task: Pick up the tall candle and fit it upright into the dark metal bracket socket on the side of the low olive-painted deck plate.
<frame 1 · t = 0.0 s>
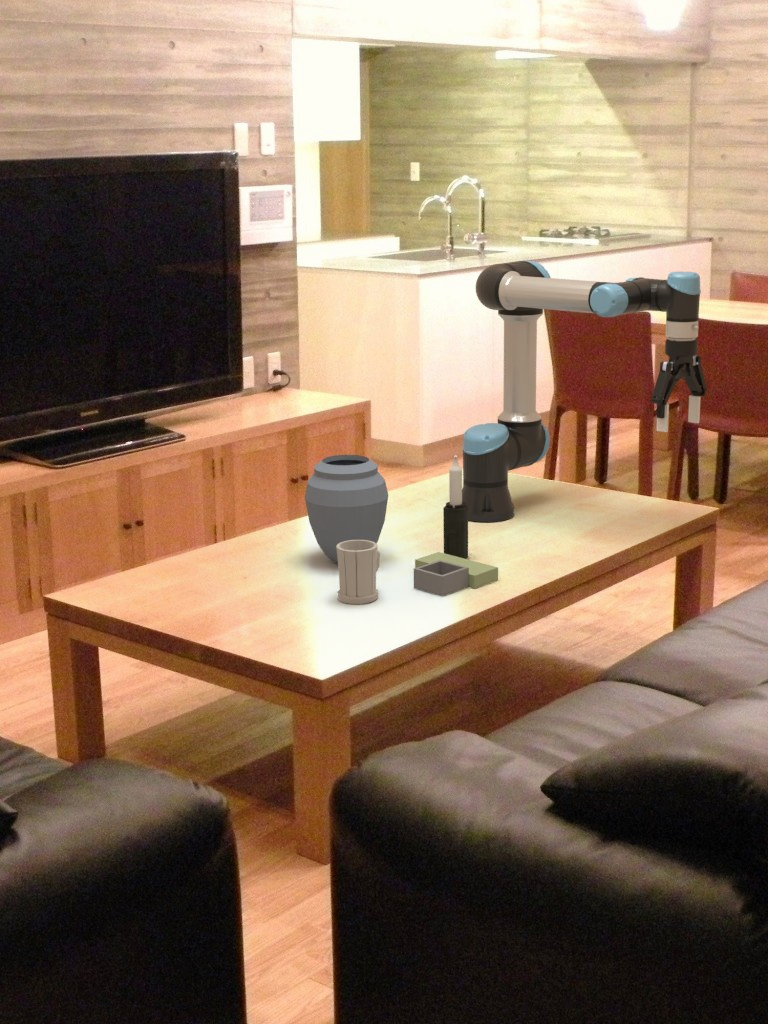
hand: (678, 427, 331), 28 cm above the table, fingers open, 13 cm apart
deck: (447, 579, 311), on the table
cup: (358, 597, 300), on the table
vase: (348, 561, 326), on the table
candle: (455, 559, 326), on the table
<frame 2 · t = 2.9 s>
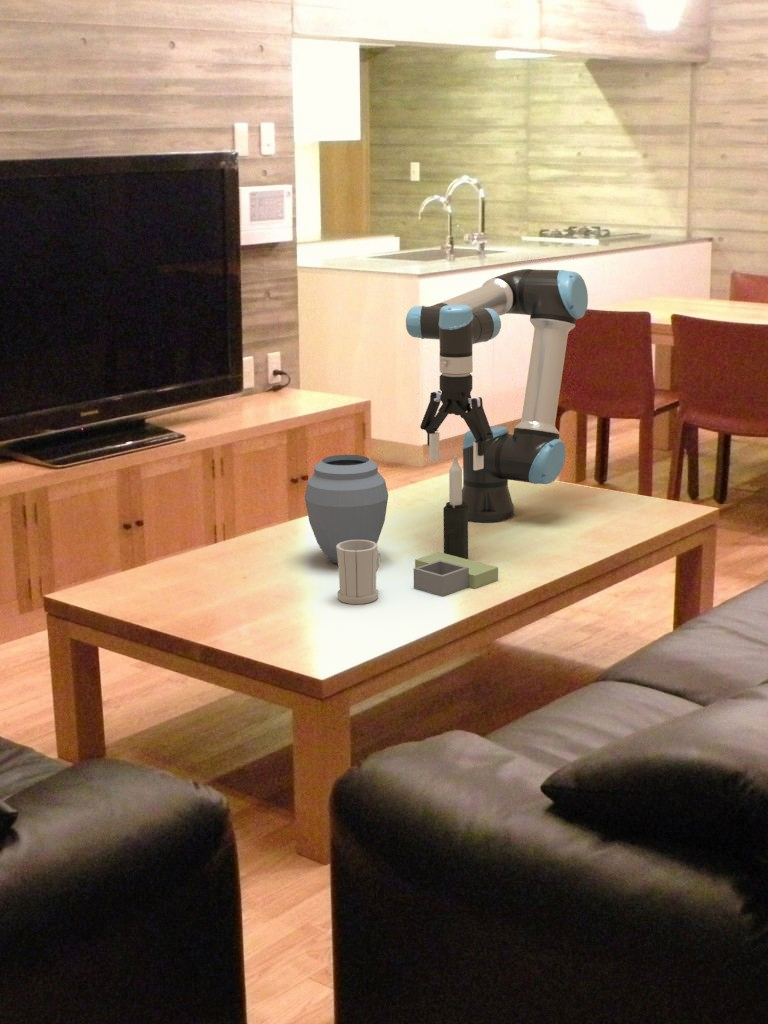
hand: (456, 464, 320), 23 cm above the table, fingers open, 13 cm apart
nothing on the table moved.
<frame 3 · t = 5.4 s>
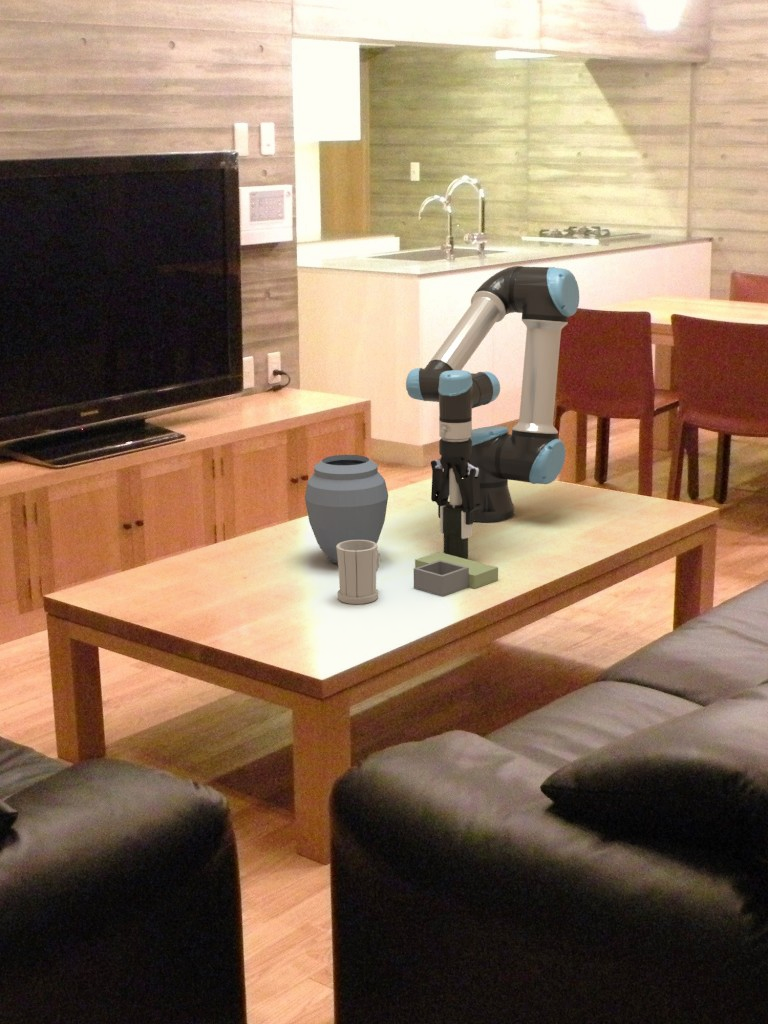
hand: (455, 534, 324), 6 cm above the table, fingers closed on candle, 6 cm apart
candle: (455, 559, 326), on the table, touching gripper
everything else where it was.
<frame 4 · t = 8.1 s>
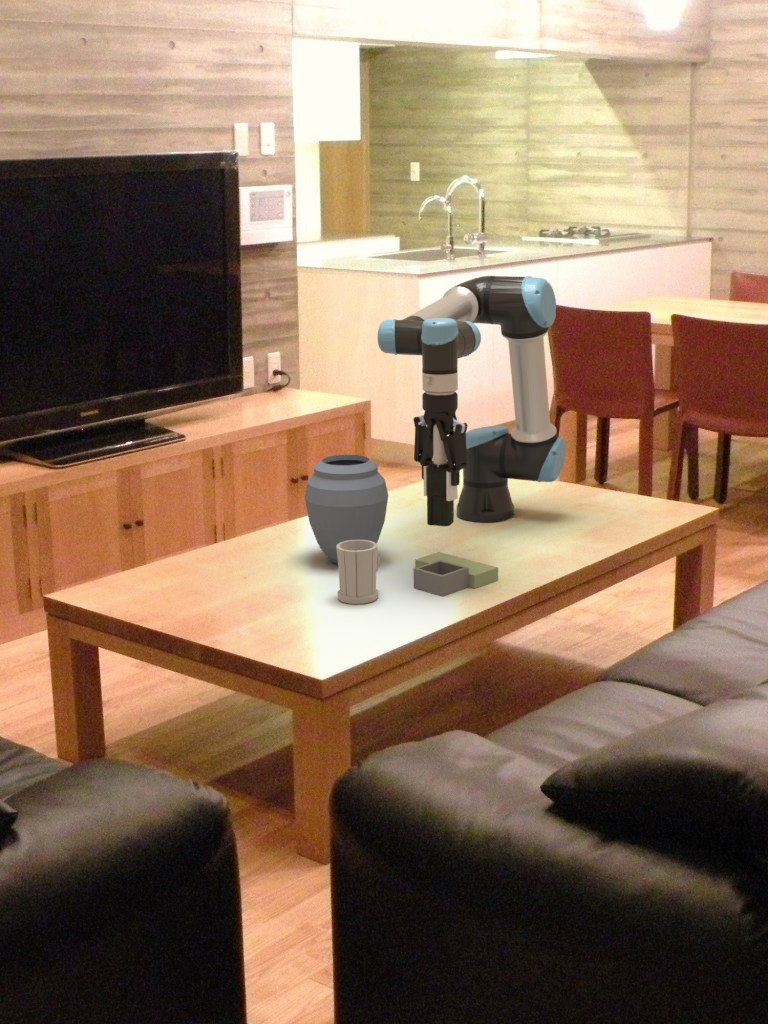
hand: (440, 497, 300), 21 cm above the table, fingers closed on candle, 6 cm apart
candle: (440, 523, 301), point 15 cm above the table, touching gripper
everything else where it was.
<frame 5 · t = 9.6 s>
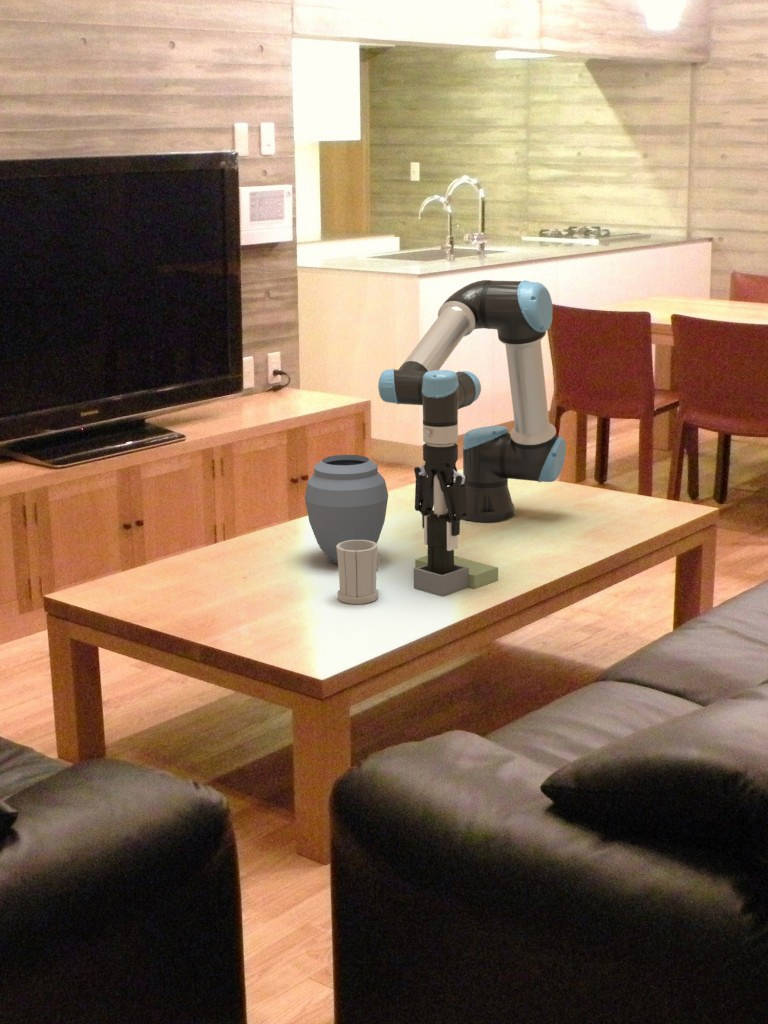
hand: (440, 546, 303), 10 cm above the table, fingers closed on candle, 6 cm apart
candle: (440, 572, 304), point 4 cm above the table, touching gripper
everything else where it was.
when the fingers open (7 cm above the table, at t = 10.7 s): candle drops 1 cm, resting in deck.
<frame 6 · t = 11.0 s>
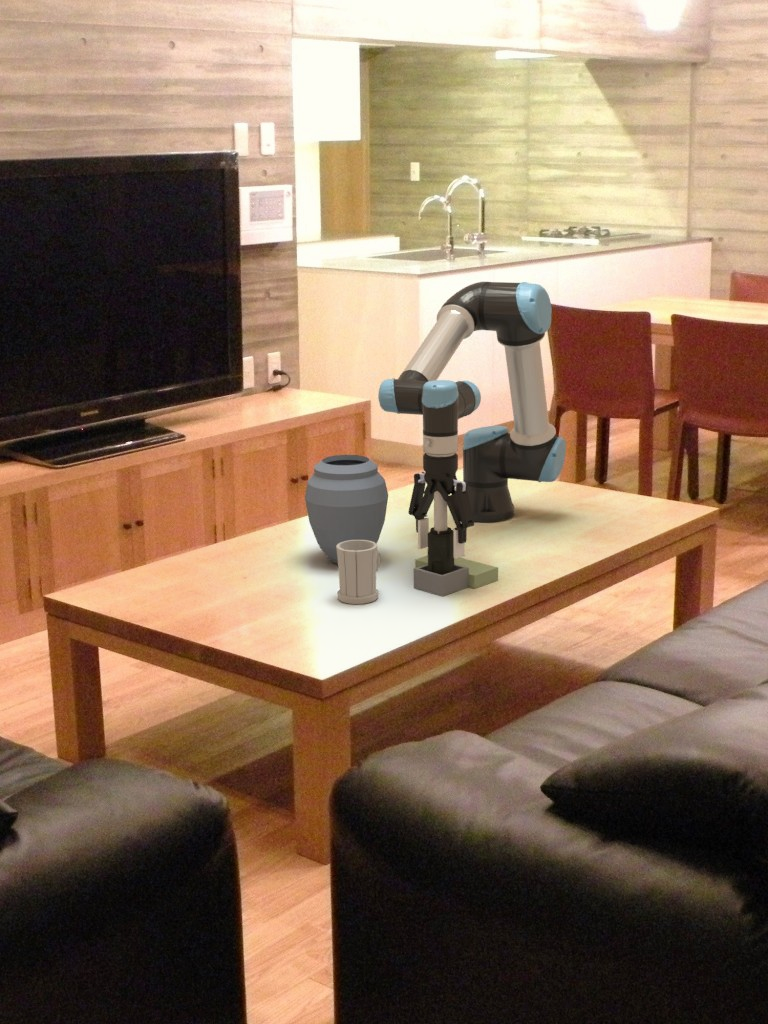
hand: (441, 552, 303), 8 cm above the table, fingers open, 10 cm apart
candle: (441, 588, 305), resting in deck
everything else where it was.
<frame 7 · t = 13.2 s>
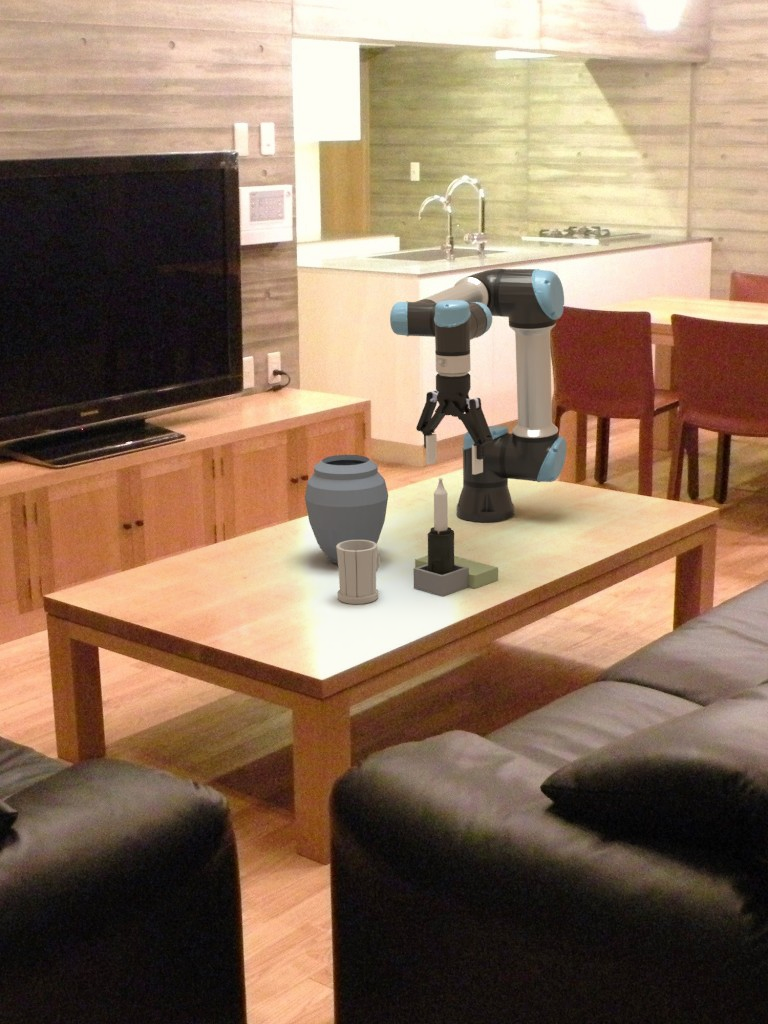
hand: (454, 468, 304), 26 cm above the table, fingers open, 13 cm apart
nothing on the table moved.
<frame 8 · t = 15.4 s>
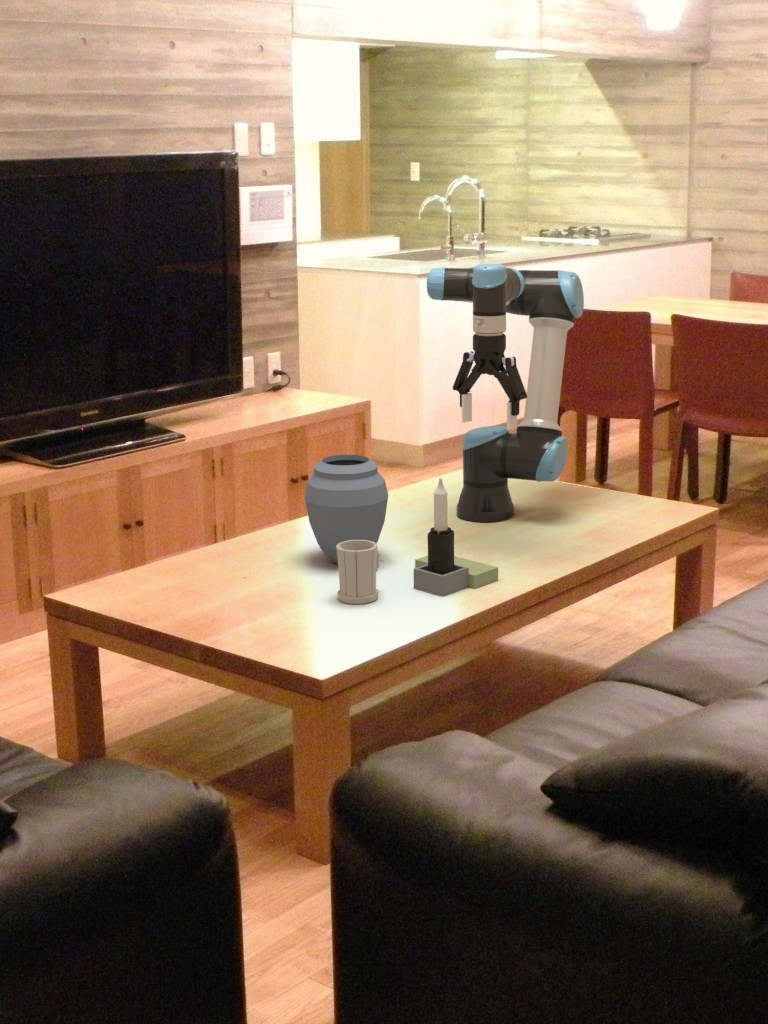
hand: (489, 425, 318), 32 cm above the table, fingers open, 13 cm apart
nothing on the table moved.
at the end: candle 0.0 cm from the target spot on the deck, point 0.0 cm above the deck's base; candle tilted 0°; the gripper is holding nothing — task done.
